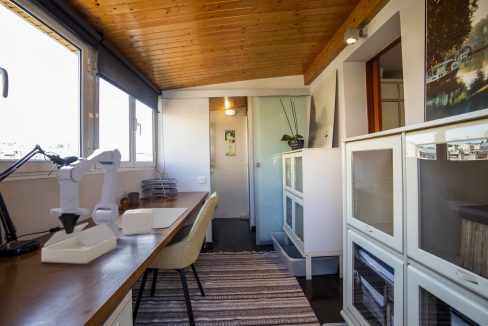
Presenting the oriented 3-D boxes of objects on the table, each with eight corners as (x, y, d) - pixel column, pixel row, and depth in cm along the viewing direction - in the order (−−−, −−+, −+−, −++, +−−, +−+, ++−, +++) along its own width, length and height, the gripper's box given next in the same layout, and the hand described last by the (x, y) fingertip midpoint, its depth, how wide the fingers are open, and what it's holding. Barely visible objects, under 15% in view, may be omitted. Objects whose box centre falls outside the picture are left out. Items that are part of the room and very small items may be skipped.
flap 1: (56, 233, 92) (55, 232, 92) (44, 246, 93) (43, 245, 93) (88, 223, 109) (87, 222, 109) (77, 234, 109) (77, 233, 109)
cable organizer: (120, 235, 126) (120, 213, 126) (124, 230, 137) (124, 209, 137) (151, 233, 130) (151, 211, 130) (153, 228, 140) (153, 208, 141)
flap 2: (104, 223, 108) (104, 222, 108) (114, 235, 107) (115, 234, 107) (74, 233, 92) (75, 233, 92) (87, 248, 91) (88, 247, 91)
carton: (78, 246, 110) (78, 234, 110) (116, 247, 108) (116, 236, 108) (41, 261, 92) (41, 248, 92) (86, 263, 90) (86, 250, 90)
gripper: (42, 199, 91) (42, 235, 91) (79, 199, 89) (79, 237, 89) (59, 196, 98) (59, 230, 98) (93, 197, 96) (93, 231, 96)
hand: (69, 233), depth 94 cm, fingers closed
